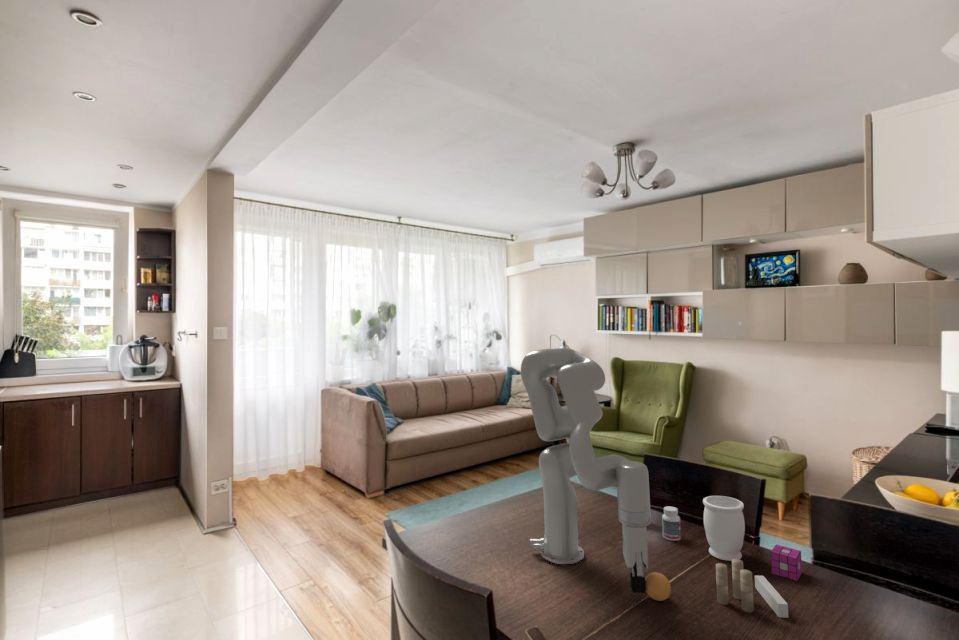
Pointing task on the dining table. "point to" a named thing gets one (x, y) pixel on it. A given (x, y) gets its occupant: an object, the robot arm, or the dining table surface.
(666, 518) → the pill bottle
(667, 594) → the ball
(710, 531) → the jar
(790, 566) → the puzzle toy
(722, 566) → the pin front
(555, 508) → the robot arm
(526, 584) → the dining table surface
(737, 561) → the pin
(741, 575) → the pin
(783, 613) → the back rail
